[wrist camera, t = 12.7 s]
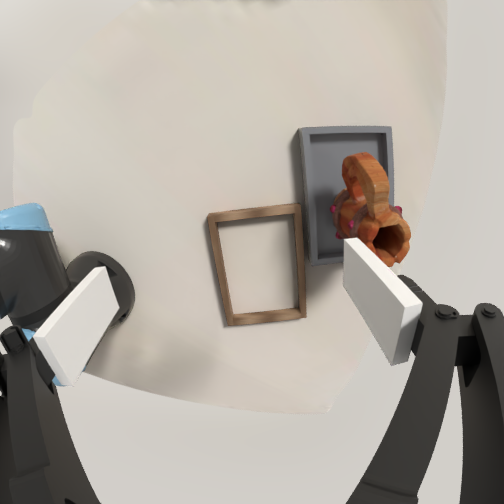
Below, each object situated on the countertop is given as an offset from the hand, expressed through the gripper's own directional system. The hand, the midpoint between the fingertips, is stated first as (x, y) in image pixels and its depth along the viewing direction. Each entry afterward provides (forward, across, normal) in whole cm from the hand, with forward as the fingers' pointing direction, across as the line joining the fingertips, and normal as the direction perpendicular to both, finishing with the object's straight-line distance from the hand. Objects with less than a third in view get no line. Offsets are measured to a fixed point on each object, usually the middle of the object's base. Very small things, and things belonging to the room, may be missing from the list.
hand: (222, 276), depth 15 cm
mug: (+28, +17, -3) cm, 33 cm away
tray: (+29, +17, -2) cm, 34 cm away
